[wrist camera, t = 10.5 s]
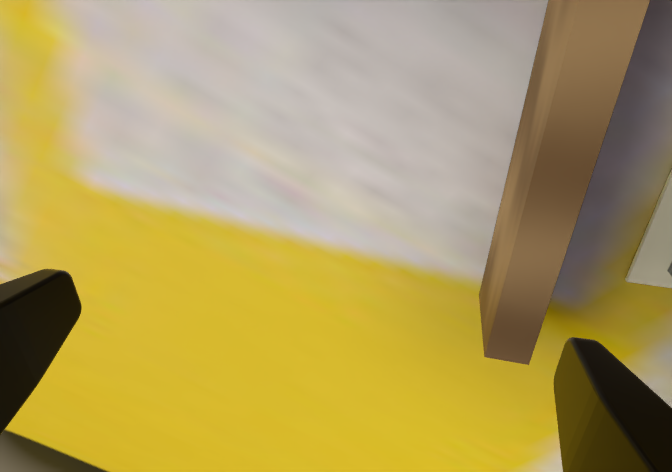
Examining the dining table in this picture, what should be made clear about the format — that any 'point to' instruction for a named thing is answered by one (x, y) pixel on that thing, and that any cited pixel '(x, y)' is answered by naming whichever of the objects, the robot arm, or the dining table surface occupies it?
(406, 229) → the dining table surface
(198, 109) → the dining table surface
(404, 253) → the dining table surface
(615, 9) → the brown l-shaped piece
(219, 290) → the dining table surface
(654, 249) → the beige flat tile
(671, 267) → the bracket
